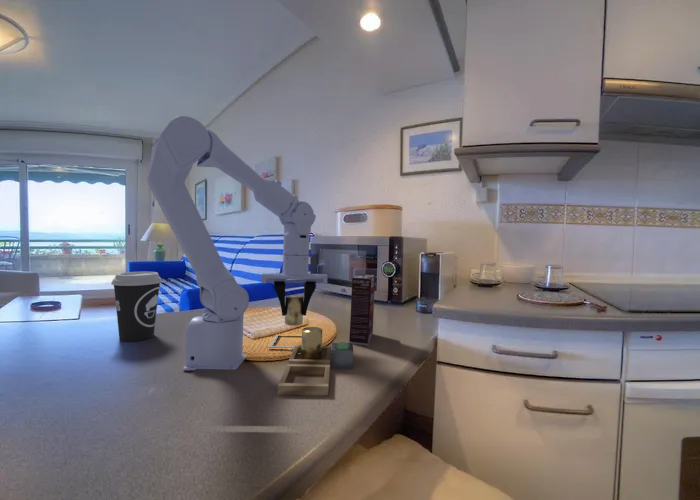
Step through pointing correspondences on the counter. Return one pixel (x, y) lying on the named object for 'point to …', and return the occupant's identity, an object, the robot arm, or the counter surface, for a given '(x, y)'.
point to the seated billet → (311, 343)
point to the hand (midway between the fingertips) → (294, 314)
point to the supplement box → (362, 309)
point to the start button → (342, 345)
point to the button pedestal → (342, 357)
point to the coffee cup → (136, 304)
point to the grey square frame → (279, 346)
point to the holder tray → (306, 375)
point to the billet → (294, 310)
